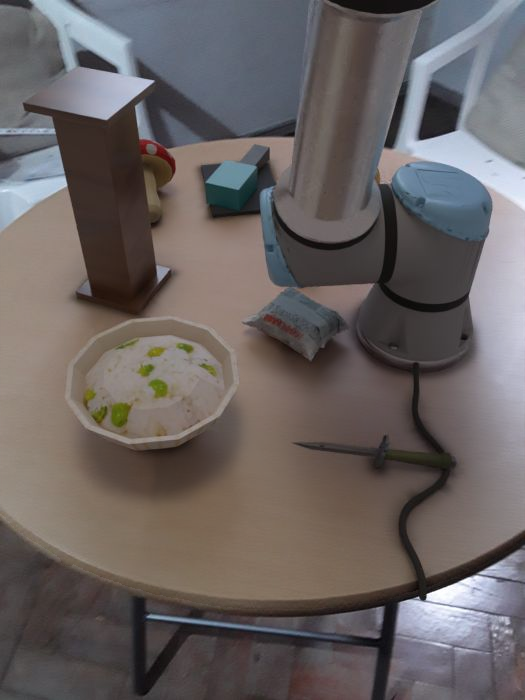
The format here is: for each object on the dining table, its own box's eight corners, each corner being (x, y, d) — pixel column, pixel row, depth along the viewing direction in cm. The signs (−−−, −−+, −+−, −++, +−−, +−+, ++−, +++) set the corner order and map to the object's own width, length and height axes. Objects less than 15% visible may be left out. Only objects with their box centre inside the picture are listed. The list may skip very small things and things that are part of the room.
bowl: (54, 483, 75) (33, 426, 68) (106, 359, 88) (93, 301, 81) (226, 504, 73) (223, 448, 66) (253, 374, 87) (252, 316, 80)
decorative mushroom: (155, 189, 102) (145, 113, 108) (98, 220, 106) (92, 145, 112) (197, 221, 111) (186, 150, 117) (144, 249, 115) (135, 178, 121)
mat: (284, 210, 113) (284, 207, 113) (213, 217, 112) (213, 214, 111) (266, 162, 124) (266, 159, 124) (201, 168, 123) (200, 165, 122)
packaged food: (310, 373, 87) (312, 346, 83) (241, 332, 92) (240, 304, 89) (349, 338, 92) (353, 311, 88) (281, 301, 97) (283, 273, 94)
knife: (287, 461, 76) (295, 433, 72) (288, 446, 77) (295, 418, 73) (451, 480, 77) (466, 454, 73) (448, 465, 78) (463, 439, 75)
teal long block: (239, 211, 112) (238, 190, 109) (206, 203, 113) (204, 182, 111) (277, 161, 123) (277, 140, 121) (247, 154, 125) (246, 134, 122)
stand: (139, 318, 94) (106, 120, 74) (71, 298, 97) (22, 102, 76) (176, 272, 101) (155, 80, 81) (112, 255, 104) (76, 65, 84)
